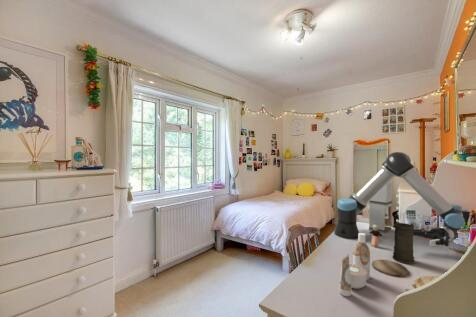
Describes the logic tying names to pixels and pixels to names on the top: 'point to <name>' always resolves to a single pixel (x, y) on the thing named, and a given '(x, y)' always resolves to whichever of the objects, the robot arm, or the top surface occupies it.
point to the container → (403, 243)
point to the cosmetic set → (355, 268)
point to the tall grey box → (380, 208)
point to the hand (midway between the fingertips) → (415, 238)
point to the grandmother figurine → (375, 236)
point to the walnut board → (389, 268)
